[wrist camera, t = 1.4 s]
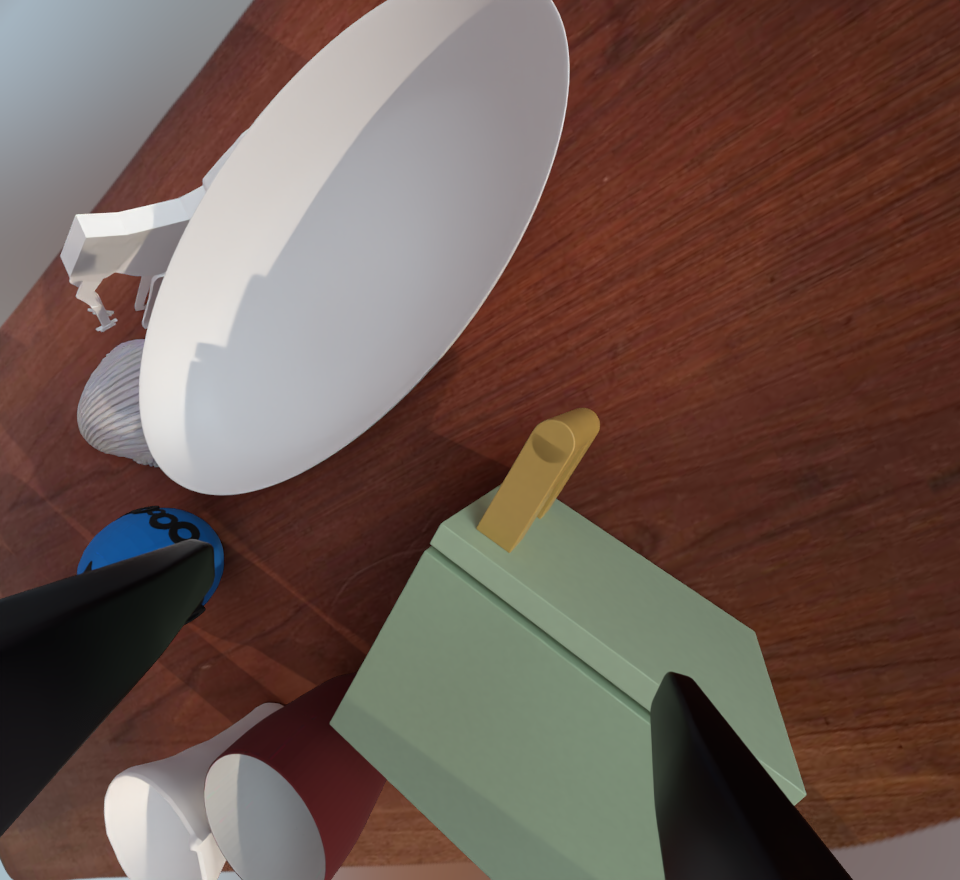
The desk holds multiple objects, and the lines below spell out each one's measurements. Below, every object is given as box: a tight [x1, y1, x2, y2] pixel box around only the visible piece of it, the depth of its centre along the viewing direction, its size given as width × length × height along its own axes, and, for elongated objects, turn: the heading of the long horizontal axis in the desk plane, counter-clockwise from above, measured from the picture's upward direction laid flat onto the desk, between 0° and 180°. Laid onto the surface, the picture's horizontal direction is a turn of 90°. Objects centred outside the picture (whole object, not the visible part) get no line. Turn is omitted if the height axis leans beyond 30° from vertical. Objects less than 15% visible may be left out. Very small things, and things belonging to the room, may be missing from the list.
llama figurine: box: [60, 129, 248, 332], centre depth 30 cm, size 2×11×18 cm
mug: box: [203, 672, 387, 880], centre depth 27 cm, size 10×8×10 cm
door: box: [430, 408, 806, 806], centre depth 19 cm, size 6×14×9 cm, turn 60°
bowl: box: [139, 0, 569, 495], centre depth 25 cm, size 30×15×6 cm, turn 127°
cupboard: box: [330, 546, 665, 880], centre depth 21 cm, size 10×14×10 cm
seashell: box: [77, 339, 159, 467], centre depth 35 cm, size 10×6×10 cm
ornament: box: [77, 506, 224, 625], centre depth 32 cm, size 9×9×10 cm
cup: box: [104, 703, 284, 880], centre depth 31 cm, size 9×9×10 cm
